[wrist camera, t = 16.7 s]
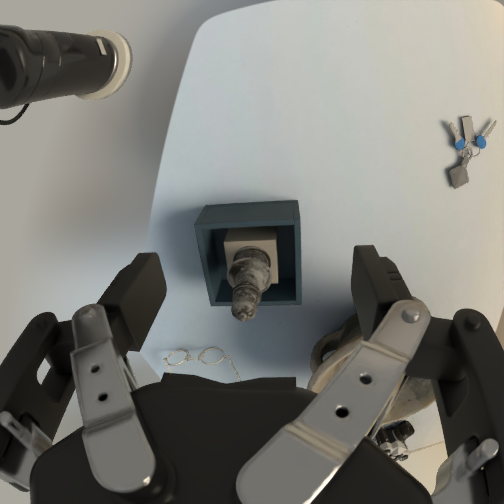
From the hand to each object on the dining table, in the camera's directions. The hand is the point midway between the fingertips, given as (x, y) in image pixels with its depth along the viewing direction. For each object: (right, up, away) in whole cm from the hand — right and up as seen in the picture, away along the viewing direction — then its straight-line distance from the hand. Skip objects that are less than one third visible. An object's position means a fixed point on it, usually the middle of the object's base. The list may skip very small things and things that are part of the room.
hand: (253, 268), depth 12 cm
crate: (0, +2, +36) cm, 36 cm away
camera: (+44, -53, +63) cm, 94 cm away
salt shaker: (0, -1, +31) cm, 31 cm away
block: (0, +2, +35) cm, 35 cm away
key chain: (+32, +17, +24) cm, 43 cm away
